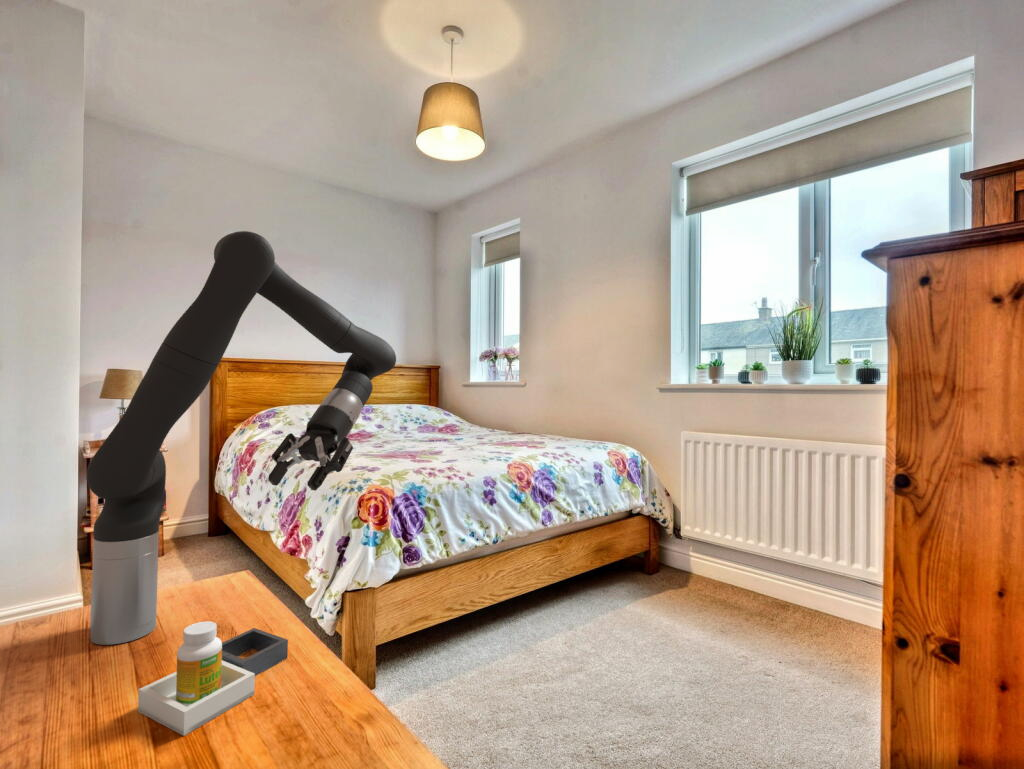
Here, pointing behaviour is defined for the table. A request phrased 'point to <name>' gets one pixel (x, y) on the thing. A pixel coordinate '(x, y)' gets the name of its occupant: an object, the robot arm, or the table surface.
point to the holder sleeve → (266, 643)
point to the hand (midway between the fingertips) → (291, 485)
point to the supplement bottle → (198, 663)
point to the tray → (183, 720)
